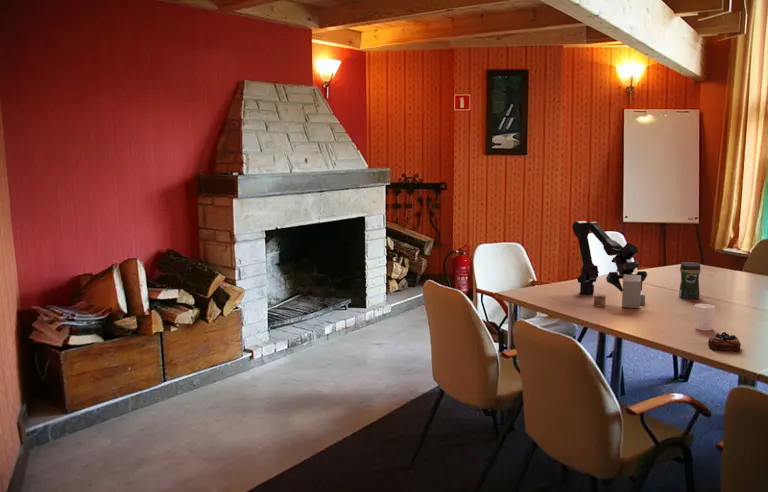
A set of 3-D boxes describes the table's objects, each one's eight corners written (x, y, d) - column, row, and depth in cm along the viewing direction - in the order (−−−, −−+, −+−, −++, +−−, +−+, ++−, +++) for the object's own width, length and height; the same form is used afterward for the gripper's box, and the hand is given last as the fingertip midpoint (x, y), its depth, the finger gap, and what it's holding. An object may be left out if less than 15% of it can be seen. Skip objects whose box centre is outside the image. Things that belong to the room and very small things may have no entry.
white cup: (689, 326, 272) (690, 303, 270) (706, 325, 272) (708, 303, 271) (700, 331, 264) (701, 308, 263) (717, 330, 265) (719, 307, 263)
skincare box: (639, 302, 308) (642, 274, 301) (639, 310, 302) (642, 281, 295) (621, 300, 311) (623, 272, 304) (620, 307, 305) (622, 280, 298)
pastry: (709, 351, 239) (710, 336, 238) (706, 342, 250) (707, 328, 249) (742, 354, 235) (743, 339, 234) (738, 345, 245) (739, 330, 245)
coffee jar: (698, 296, 327) (700, 261, 324) (700, 299, 320) (702, 263, 317) (677, 295, 330) (679, 260, 327) (679, 298, 323) (681, 263, 320)
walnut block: (593, 305, 311) (594, 295, 311) (594, 303, 316) (595, 293, 315) (604, 306, 309) (604, 296, 309) (605, 304, 314) (605, 294, 313)
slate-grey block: (633, 304, 313) (634, 294, 312) (634, 301, 318) (634, 292, 317) (644, 305, 311) (644, 295, 310) (644, 302, 316) (645, 293, 315)
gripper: (609, 255, 307) (618, 282, 297) (646, 254, 308) (656, 281, 298) (602, 269, 315) (610, 295, 306) (638, 268, 316) (648, 294, 307)
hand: (631, 291), depth 304 cm, fingers closed on skincare box, 9 cm apart
